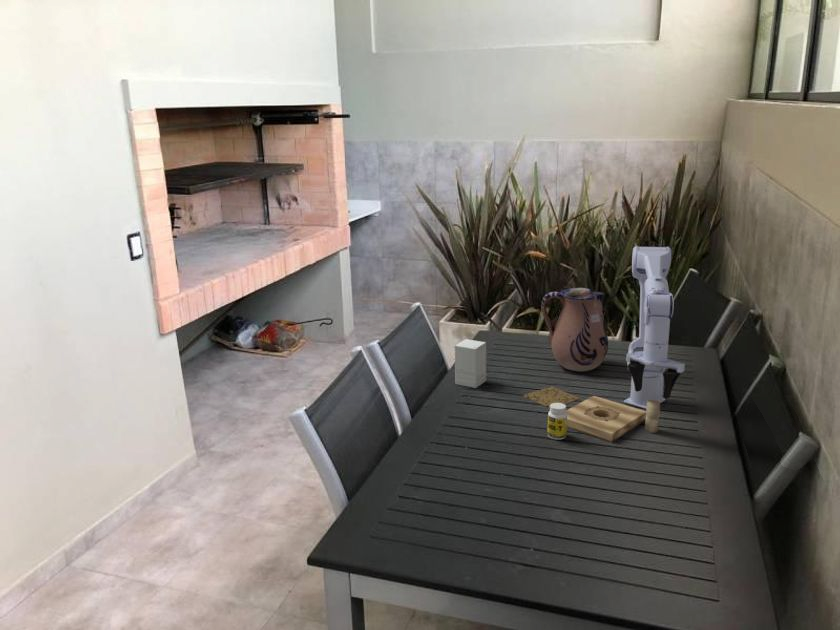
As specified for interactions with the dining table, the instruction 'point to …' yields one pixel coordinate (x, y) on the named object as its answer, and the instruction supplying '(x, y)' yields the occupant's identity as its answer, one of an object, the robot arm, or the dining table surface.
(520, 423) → the dining table surface
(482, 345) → the supplement box
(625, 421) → the bore board
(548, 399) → the cookie
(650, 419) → the dowel
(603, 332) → the ceramic pitcher
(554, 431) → the supplement bottle
